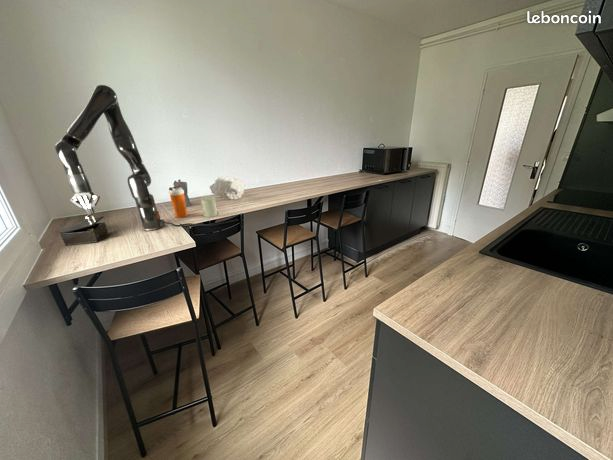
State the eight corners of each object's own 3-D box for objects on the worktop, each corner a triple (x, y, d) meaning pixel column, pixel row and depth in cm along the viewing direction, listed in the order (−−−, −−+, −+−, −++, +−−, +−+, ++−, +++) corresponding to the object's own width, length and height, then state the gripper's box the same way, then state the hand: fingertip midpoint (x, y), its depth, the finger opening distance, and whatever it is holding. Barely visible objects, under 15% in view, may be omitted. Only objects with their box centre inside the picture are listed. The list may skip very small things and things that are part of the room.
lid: (104, 217, 141) (99, 209, 139) (92, 225, 130) (87, 217, 128) (74, 224, 139) (69, 217, 137) (60, 233, 128) (54, 225, 126)
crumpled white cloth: (223, 199, 218) (244, 202, 206) (206, 195, 203) (228, 198, 191) (227, 178, 218) (248, 180, 206) (210, 173, 203) (232, 174, 191)
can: (200, 214, 172) (197, 197, 167) (213, 211, 178) (210, 195, 173) (207, 218, 166) (204, 200, 161) (220, 214, 172) (217, 197, 167)
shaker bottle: (191, 214, 172) (185, 186, 164) (180, 218, 165) (174, 189, 157) (182, 212, 176) (176, 184, 168) (171, 217, 168) (164, 187, 160)
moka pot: (184, 208, 183) (178, 181, 175) (172, 205, 191) (165, 179, 183) (195, 205, 191) (190, 179, 183) (183, 202, 198) (177, 177, 190)
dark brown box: (108, 233, 145) (104, 222, 142) (97, 242, 134) (93, 231, 131) (79, 235, 142) (74, 224, 139) (65, 245, 131) (60, 234, 128)
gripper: (58, 185, 122) (72, 218, 129) (90, 183, 125) (102, 215, 132) (68, 181, 128) (80, 213, 135) (97, 180, 131) (108, 211, 138)
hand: (91, 214), depth 133 cm, fingers closed
